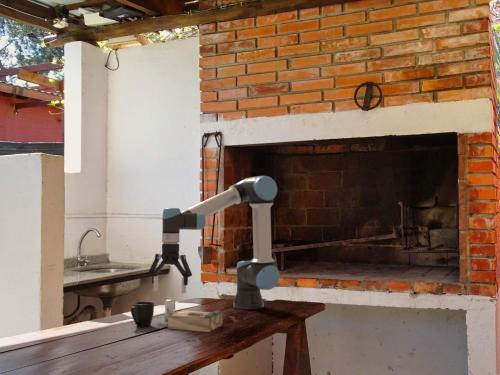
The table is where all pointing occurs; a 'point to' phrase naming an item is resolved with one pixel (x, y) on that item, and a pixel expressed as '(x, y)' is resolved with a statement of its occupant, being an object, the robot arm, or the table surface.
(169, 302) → the cylinder
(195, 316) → the block
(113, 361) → the table surface
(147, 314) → the mug
